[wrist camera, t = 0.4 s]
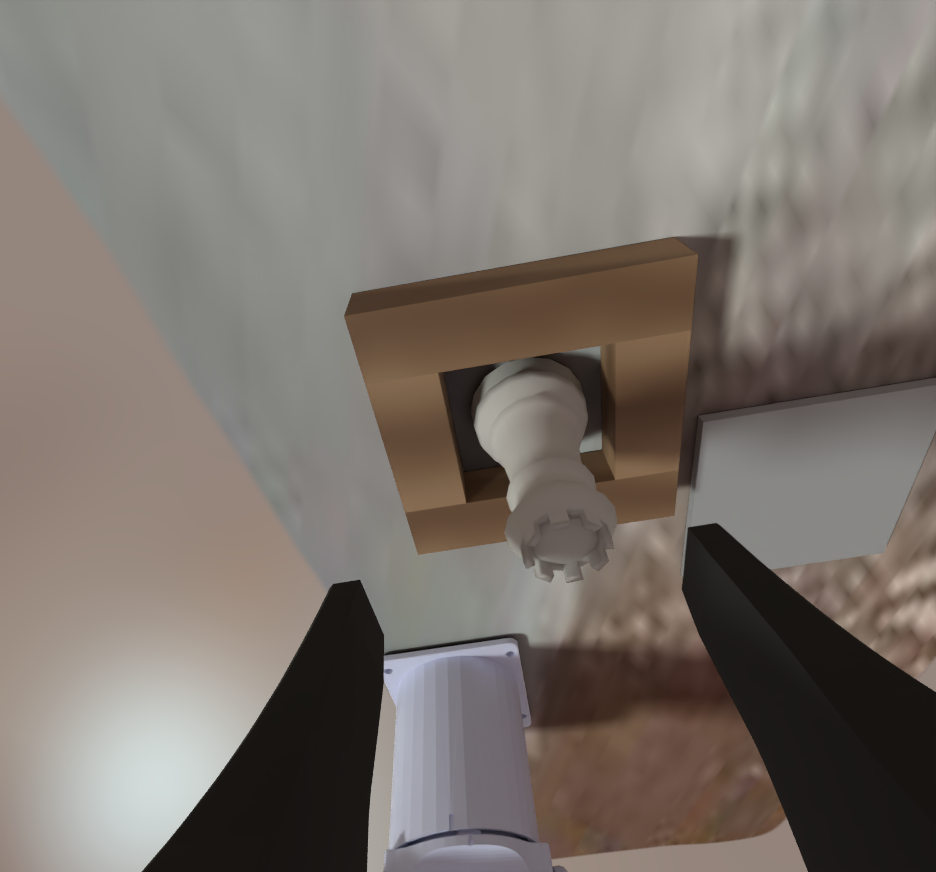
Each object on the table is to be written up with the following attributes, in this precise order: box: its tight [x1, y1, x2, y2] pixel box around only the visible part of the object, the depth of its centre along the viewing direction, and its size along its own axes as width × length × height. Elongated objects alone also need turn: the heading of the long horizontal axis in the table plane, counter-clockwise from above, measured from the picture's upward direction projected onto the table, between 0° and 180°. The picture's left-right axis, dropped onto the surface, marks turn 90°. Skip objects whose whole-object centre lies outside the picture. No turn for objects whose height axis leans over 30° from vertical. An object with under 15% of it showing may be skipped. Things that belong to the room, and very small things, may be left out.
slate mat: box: [681, 378, 936, 578], centre depth 24 cm, size 10×10×1 cm
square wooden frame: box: [344, 237, 698, 555], centre depth 20 cm, size 11×11×2 cm
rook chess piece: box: [471, 357, 617, 583], centre depth 18 cm, size 4×4×8 cm
